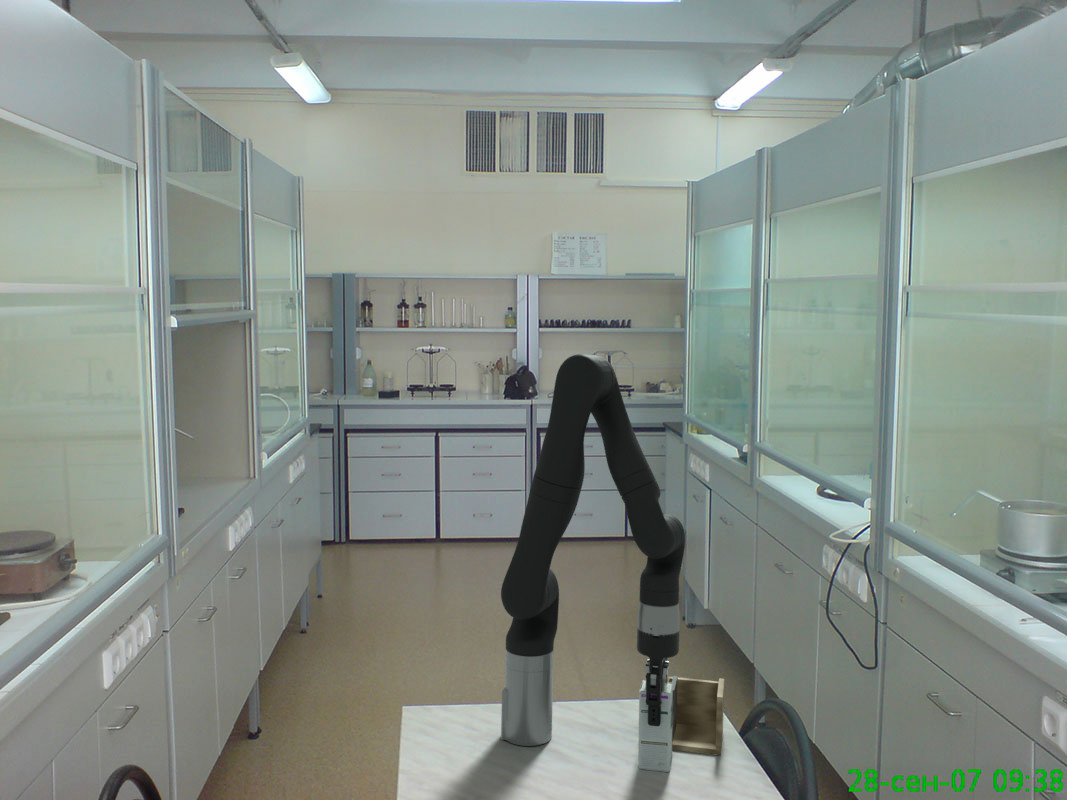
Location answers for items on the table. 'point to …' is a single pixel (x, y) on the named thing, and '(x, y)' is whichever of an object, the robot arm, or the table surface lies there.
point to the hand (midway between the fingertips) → (656, 717)
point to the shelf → (697, 715)
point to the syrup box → (655, 733)
